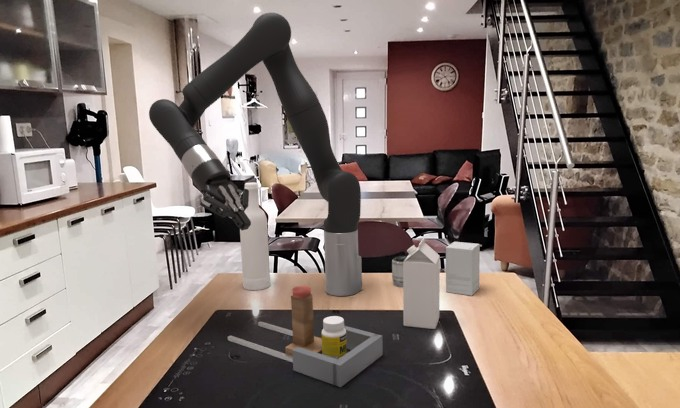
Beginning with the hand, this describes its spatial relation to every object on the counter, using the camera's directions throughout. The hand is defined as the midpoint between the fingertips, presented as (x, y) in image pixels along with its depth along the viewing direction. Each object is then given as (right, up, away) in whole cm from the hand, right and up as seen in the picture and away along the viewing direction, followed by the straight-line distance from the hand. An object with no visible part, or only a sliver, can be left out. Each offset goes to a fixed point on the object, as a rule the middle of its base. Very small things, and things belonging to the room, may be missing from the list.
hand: (246, 227), depth 102 cm
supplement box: (+54, -19, +27) cm, 63 cm away
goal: (+20, -25, -11) cm, 34 cm away
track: (+6, -24, -2) cm, 25 cm away
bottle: (-4, -19, +35) cm, 40 cm away
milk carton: (+39, -22, +7) cm, 45 cm away
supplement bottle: (+19, -25, -11) cm, 34 cm away
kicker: (+14, -25, -7) cm, 29 cm away
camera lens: (+38, -18, +34) cm, 54 cm away
